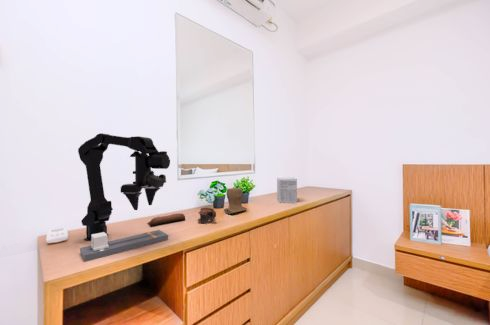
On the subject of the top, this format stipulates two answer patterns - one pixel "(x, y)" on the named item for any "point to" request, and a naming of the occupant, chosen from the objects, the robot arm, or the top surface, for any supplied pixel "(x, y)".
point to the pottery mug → (206, 215)
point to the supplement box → (287, 190)
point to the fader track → (124, 244)
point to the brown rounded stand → (234, 201)
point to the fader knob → (99, 241)
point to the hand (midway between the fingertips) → (143, 207)
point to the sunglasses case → (166, 219)
